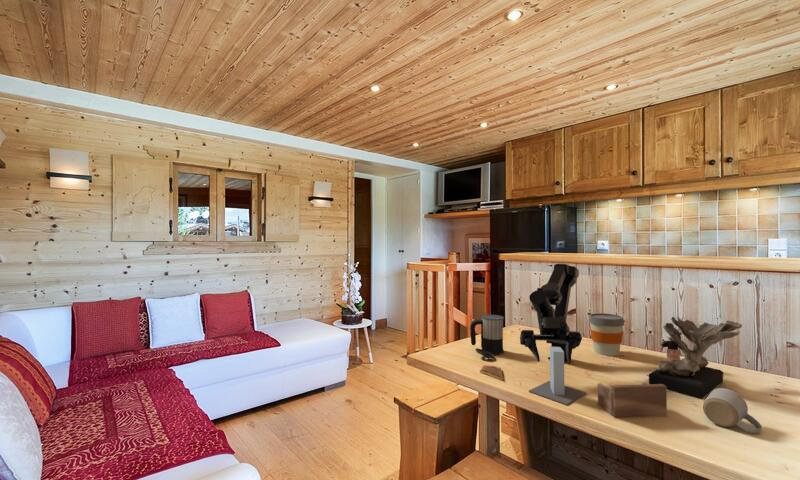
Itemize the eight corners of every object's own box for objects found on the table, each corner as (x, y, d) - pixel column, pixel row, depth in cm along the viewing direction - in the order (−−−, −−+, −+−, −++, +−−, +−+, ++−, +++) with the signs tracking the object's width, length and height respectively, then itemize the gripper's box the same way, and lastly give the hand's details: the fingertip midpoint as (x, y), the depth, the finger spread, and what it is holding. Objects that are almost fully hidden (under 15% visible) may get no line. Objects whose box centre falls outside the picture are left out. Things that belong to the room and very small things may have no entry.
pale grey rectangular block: (550, 387, 114) (549, 346, 114) (560, 388, 113) (560, 347, 113) (553, 394, 109) (553, 351, 109) (564, 395, 108) (564, 351, 108)
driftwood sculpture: (677, 368, 131) (677, 309, 131) (754, 386, 114) (753, 318, 114) (646, 384, 117) (645, 317, 117) (728, 408, 100) (727, 330, 100)
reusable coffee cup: (626, 351, 150) (626, 315, 150) (621, 359, 141) (620, 321, 141) (593, 346, 159) (593, 312, 159) (585, 353, 149) (585, 316, 149)
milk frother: (499, 348, 158) (498, 313, 158) (514, 360, 142) (514, 322, 142) (467, 349, 156) (466, 315, 156) (479, 361, 140) (479, 323, 140)
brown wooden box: (597, 404, 103) (597, 376, 103) (646, 403, 104) (645, 375, 104) (614, 417, 95) (614, 387, 95) (666, 416, 96) (666, 386, 96)
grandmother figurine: (683, 365, 134) (683, 331, 134) (686, 368, 130) (686, 333, 130) (658, 362, 137) (658, 329, 137) (661, 365, 134) (660, 331, 134)
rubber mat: (549, 382, 120) (549, 380, 120) (586, 393, 110) (586, 392, 110) (528, 391, 112) (528, 390, 112) (566, 405, 103) (566, 404, 103)
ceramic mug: (700, 421, 93) (701, 391, 93) (709, 412, 98) (709, 383, 98) (758, 440, 85) (758, 407, 85) (764, 428, 90) (765, 397, 90)
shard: (503, 382, 121) (503, 377, 121) (479, 381, 122) (479, 376, 122) (501, 371, 131) (501, 366, 131) (479, 369, 133) (479, 364, 133)
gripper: (520, 306, 123) (525, 348, 112) (579, 307, 119) (591, 351, 108) (517, 323, 131) (522, 365, 120) (573, 325, 127) (583, 368, 116)
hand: (554, 362), depth 116 cm, fingers open, 9 cm apart
